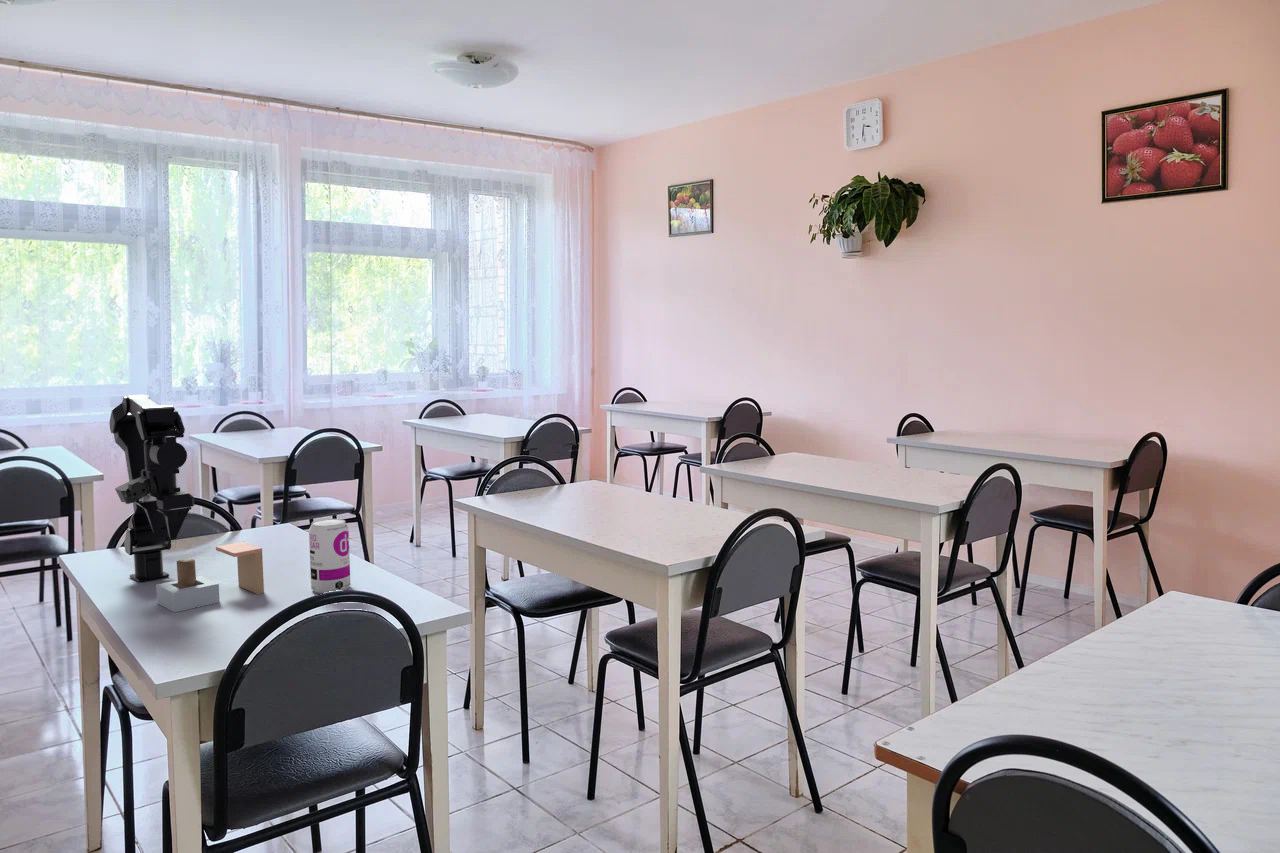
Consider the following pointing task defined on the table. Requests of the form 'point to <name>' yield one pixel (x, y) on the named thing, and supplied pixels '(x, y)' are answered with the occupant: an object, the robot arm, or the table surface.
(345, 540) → the supplement can
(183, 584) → the peg
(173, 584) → the grey and wooden blocks
